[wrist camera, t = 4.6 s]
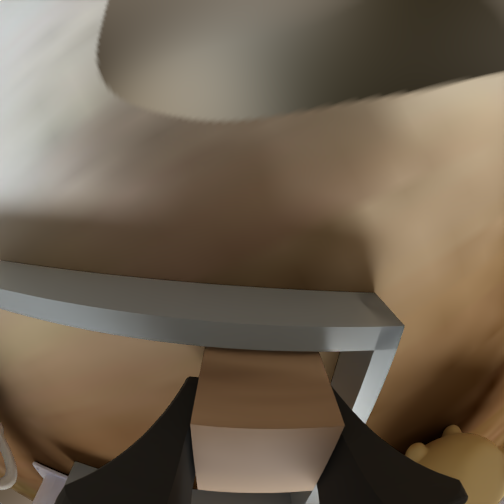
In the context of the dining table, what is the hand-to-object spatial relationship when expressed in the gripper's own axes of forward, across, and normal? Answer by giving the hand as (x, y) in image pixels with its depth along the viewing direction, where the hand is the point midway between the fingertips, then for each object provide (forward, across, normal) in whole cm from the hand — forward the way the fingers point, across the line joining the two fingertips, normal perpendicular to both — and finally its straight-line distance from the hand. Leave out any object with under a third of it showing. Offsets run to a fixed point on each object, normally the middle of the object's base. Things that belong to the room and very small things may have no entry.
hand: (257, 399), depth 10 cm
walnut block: (+2, 0, 0) cm, 2 cm away
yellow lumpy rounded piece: (+3, -15, +10) cm, 19 cm away
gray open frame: (+3, +5, +6) cm, 8 cm away
